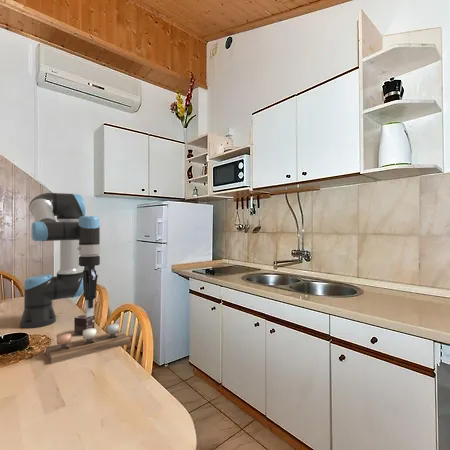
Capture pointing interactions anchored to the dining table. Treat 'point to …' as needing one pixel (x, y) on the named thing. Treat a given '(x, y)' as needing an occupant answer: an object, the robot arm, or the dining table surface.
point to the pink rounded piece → (63, 339)
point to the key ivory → (89, 334)
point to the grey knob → (112, 329)
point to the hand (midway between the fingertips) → (89, 315)
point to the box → (83, 323)
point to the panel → (86, 346)
